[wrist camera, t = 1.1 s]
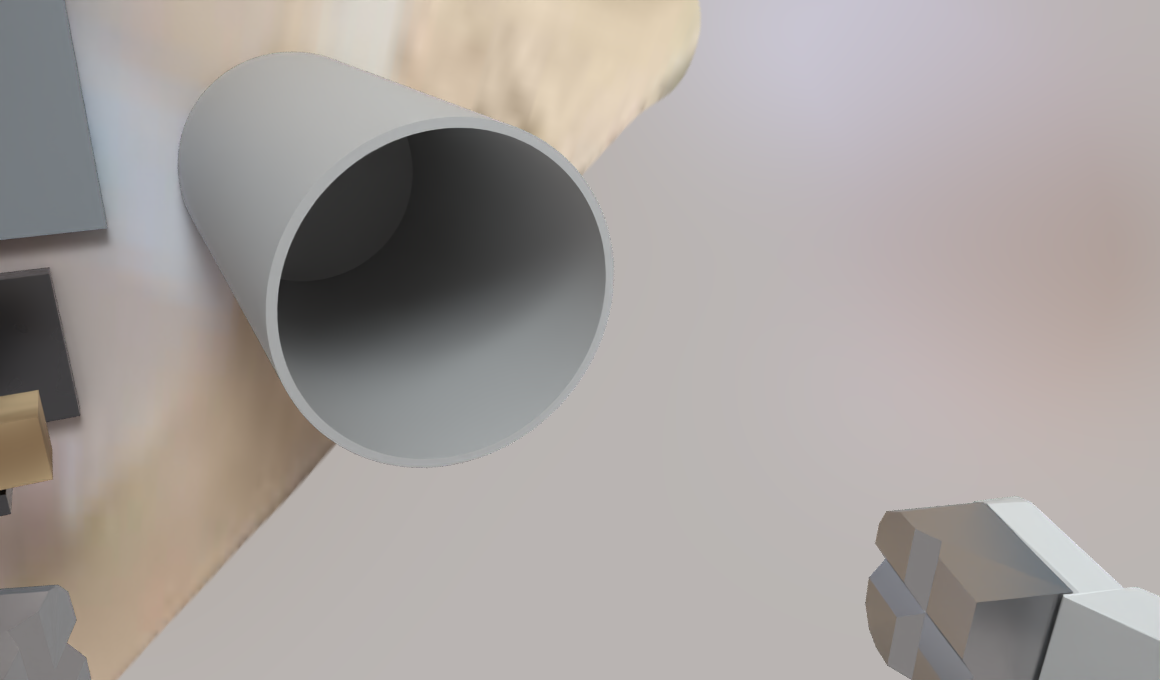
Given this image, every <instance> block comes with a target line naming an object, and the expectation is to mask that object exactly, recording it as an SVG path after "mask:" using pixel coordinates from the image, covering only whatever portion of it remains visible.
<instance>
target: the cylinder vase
mask: <svg viewBox="0 0 1160 680" xmlns="http://www.w3.org/2000/svg"><path fill="white" fill-rule="evenodd" d="M178 176H179V183H180V188H181V192H182V196H183V199H184V202H185V205H186V207H187V210H188V212H189V214H190V216H191V218H192V220H193V221H194V223H195V225H196V227H197V229H198V230H199V232H200V234H201V236H202V238H203V240H204V241H205V243H206V245H207V247H208V249H209V251H210V252H211V254H212V256H213V258H214V260H215V262H216V263H217V265H218V267H219V269H220V271H221V273H222V274H223V276H224V278H225V280H226V282H227V284H228V285H229V287H230V289H231V291H232V293H233V295H234V296H235V298H236V300H237V302H238V304H239V305H240V307H241V309H242V311H243V313H244V315H245V316H246V318H247V320H248V322H249V324H250V326H251V327H252V329H253V331H254V333H255V335H256V337H257V338H258V340H259V342H260V344H261V346H262V348H263V349H264V351H265V353H266V355H267V357H268V359H269V360H270V362H271V364H272V366H273V368H274V369H275V371H276V373H277V375H278V377H279V379H280V380H281V382H282V384H283V386H284V388H285V390H286V391H287V393H288V395H289V396H290V398H291V399H292V401H293V403H294V404H295V405H296V407H297V408H298V409H299V411H300V412H301V413H302V414H303V415H304V416H305V418H306V419H307V420H308V421H309V422H310V423H311V424H312V425H313V426H314V427H315V428H316V429H318V430H319V431H320V432H321V433H322V434H323V435H325V436H326V437H327V438H329V439H330V440H332V441H333V442H335V443H336V444H338V445H339V446H341V447H343V448H345V449H347V450H349V451H350V452H353V453H355V454H357V455H359V456H362V457H364V458H367V459H370V460H373V461H376V462H381V463H384V464H389V465H395V466H402V467H416V468H423V467H424V468H425V467H426V468H427V467H441V466H448V465H454V464H458V463H463V462H467V461H471V460H474V459H477V458H480V457H483V456H486V455H488V454H491V453H493V452H495V451H498V450H500V449H501V448H504V447H506V446H507V445H509V444H511V443H513V442H515V441H516V440H518V439H520V438H521V437H523V436H524V435H526V434H527V433H529V432H530V431H532V430H533V429H534V428H536V427H537V426H538V425H539V424H541V423H542V422H543V421H544V420H545V419H546V418H548V417H549V415H551V414H552V413H553V412H554V411H555V410H556V409H557V408H558V407H559V406H560V405H561V404H562V402H564V400H565V399H566V398H567V397H568V396H569V394H570V393H571V392H572V391H573V389H574V388H575V387H576V385H577V384H578V383H579V381H580V380H581V378H582V377H583V375H584V374H585V372H586V370H587V369H588V367H589V365H590V363H591V361H592V359H593V357H594V355H595V353H596V351H597V349H598V347H599V344H600V342H601V339H602V336H603V334H604V331H605V328H606V324H607V321H608V317H609V313H610V308H611V303H612V296H613V285H614V261H613V251H612V245H611V239H610V235H609V231H608V227H607V224H606V221H605V218H604V215H603V212H602V210H601V208H600V205H599V203H598V201H597V199H596V197H595V196H594V194H593V192H592V190H591V189H590V187H589V185H588V184H587V182H586V181H585V180H584V178H583V177H582V176H581V174H580V173H579V172H578V171H577V169H576V168H575V167H574V166H573V165H572V164H571V163H570V162H569V161H568V160H567V159H566V158H565V157H564V156H563V155H562V154H561V153H559V152H558V151H557V150H556V149H554V148H553V147H552V146H550V145H549V144H547V143H546V142H544V141H543V140H541V139H540V138H538V137H536V136H534V135H532V134H530V133H528V132H526V131H524V130H522V129H519V128H517V127H514V126H512V125H509V124H506V123H504V122H501V121H498V120H495V119H493V118H490V117H487V116H485V115H482V114H479V113H477V112H474V111H471V110H469V109H466V108H463V107H461V106H458V105H455V104H453V103H450V102H447V101H444V100H442V99H439V98H436V97H434V96H431V95H428V94H426V93H423V92H420V91H418V90H415V89H412V88H410V87H407V86H404V85H402V84H399V83H396V82H393V81H391V80H388V79H385V78H383V77H380V76H377V75H375V74H372V73H369V72H367V71H364V70H361V69H359V68H356V67H353V66H350V65H348V64H345V63H342V62H340V61H337V60H334V59H332V58H329V57H325V56H322V55H317V54H312V53H305V52H280V53H272V54H267V55H263V56H259V57H256V58H253V59H250V60H248V61H245V62H243V63H241V64H239V65H237V66H235V67H234V68H232V69H230V70H229V71H227V72H226V73H224V74H223V75H222V76H220V77H219V78H218V79H217V80H215V81H214V82H213V83H212V84H211V85H210V86H209V87H208V88H207V89H206V90H205V92H204V93H203V94H202V95H201V97H200V98H199V99H198V101H197V102H196V104H195V105H194V107H193V109H192V110H191V112H190V114H189V116H188V118H187V121H186V123H185V126H184V129H183V132H182V135H181V139H180V144H179V151H178Z"/></svg>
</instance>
